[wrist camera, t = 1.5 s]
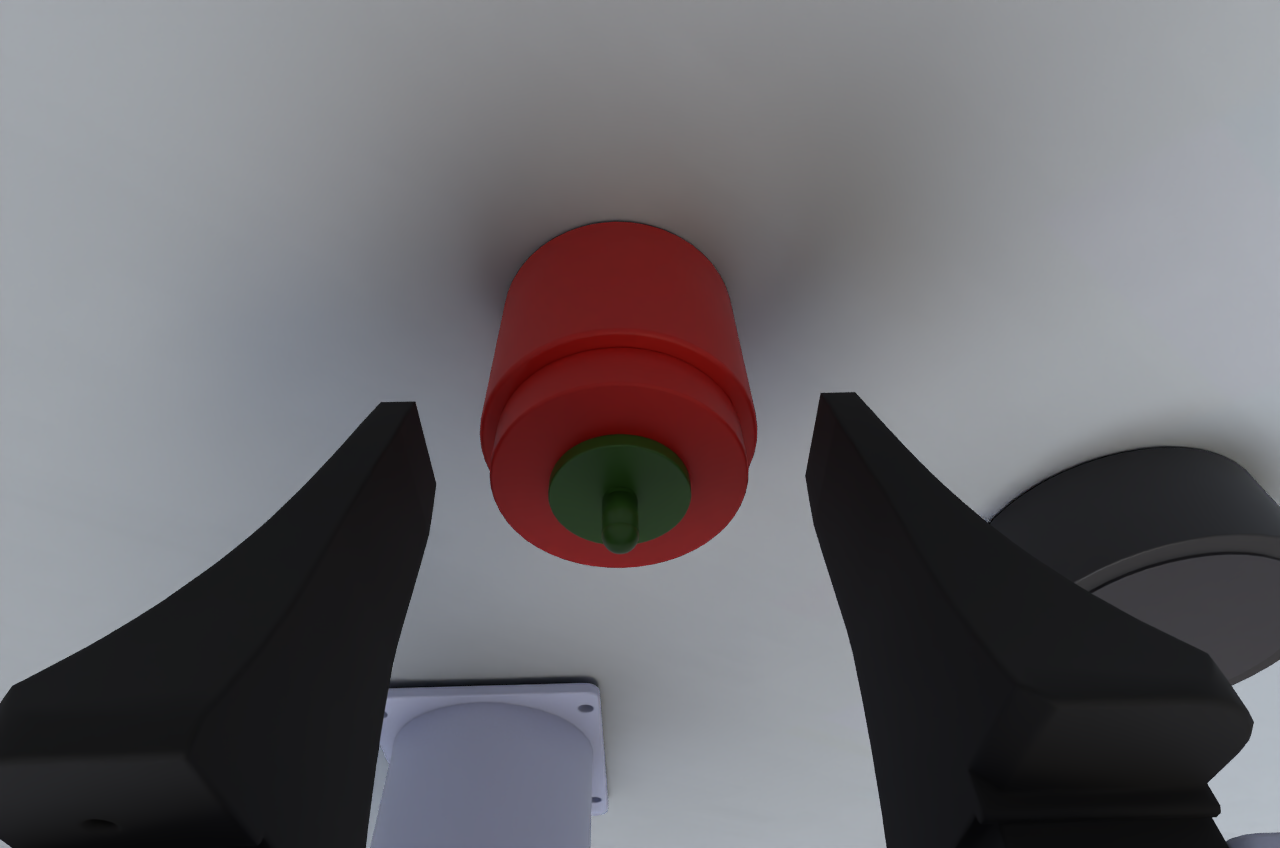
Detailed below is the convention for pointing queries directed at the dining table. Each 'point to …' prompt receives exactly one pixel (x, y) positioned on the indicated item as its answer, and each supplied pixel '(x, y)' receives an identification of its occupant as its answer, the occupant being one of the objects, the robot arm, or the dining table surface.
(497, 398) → the pepper
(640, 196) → the dining table surface
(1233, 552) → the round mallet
